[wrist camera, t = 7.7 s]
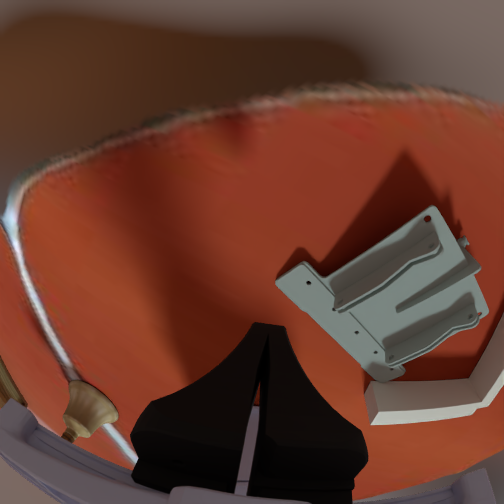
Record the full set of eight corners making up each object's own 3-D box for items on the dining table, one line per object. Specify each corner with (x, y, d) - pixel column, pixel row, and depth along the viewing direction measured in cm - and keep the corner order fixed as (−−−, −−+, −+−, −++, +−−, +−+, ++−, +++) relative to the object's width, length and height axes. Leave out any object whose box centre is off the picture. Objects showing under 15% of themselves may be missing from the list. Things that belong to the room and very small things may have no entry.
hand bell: (98, 422, 33) (53, 496, 18) (61, 383, 31) (4, 455, 16) (130, 419, 31) (81, 510, 16) (88, 375, 29) (22, 465, 14)
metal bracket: (435, 179, 12) (508, 336, 15) (413, 155, 17) (489, 292, 19) (256, 303, 20) (368, 401, 23) (277, 260, 25) (371, 356, 27)
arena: (363, 394, 24) (370, 424, 21) (440, 148, 16) (470, 150, 12) (471, 389, 23) (483, 412, 19) (548, 197, 15) (574, 206, 11)
